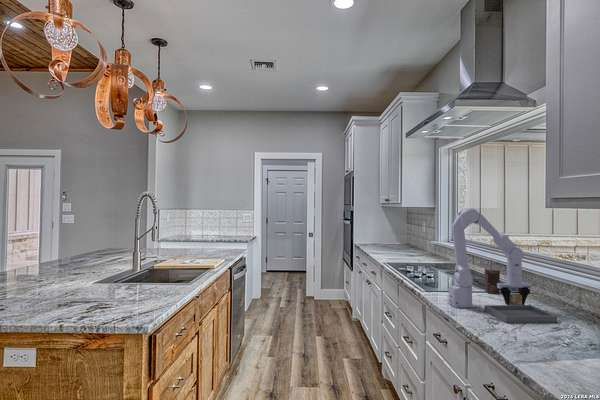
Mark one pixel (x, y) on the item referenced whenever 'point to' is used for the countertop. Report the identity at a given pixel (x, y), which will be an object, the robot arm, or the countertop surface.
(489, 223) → the robot arm
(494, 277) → the box
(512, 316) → the tray
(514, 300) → the maple block
